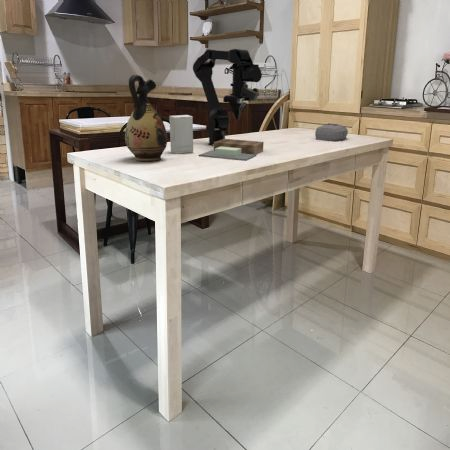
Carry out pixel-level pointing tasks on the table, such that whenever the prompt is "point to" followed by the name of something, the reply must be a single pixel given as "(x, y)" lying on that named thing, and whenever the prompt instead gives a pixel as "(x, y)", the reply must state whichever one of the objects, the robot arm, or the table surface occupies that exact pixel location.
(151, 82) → the ceramic jug
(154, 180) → the table surface
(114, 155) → the table surface
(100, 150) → the table surface
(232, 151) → the sage tile
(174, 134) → the skincare box
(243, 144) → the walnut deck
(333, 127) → the soft grey pack
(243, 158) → the charcoal mat
